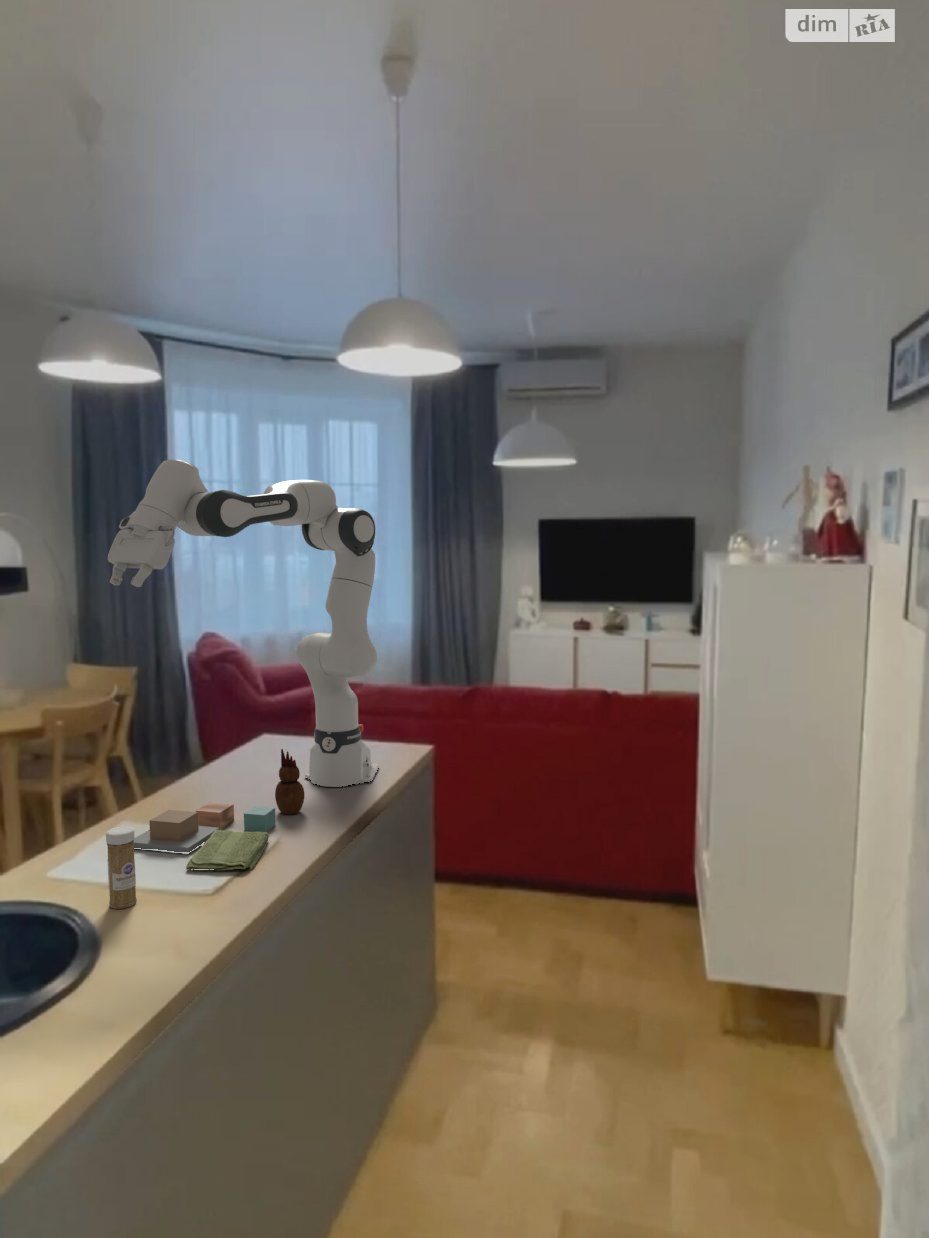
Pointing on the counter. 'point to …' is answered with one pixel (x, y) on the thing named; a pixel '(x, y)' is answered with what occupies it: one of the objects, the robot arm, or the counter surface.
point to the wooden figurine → (289, 787)
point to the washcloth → (230, 851)
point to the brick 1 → (215, 815)
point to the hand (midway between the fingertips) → (124, 585)
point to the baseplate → (175, 845)
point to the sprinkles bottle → (121, 867)
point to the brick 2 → (259, 819)
